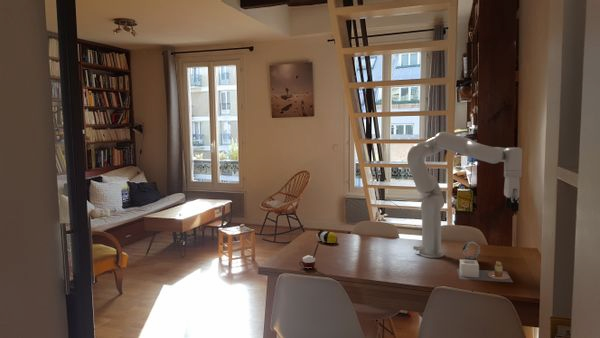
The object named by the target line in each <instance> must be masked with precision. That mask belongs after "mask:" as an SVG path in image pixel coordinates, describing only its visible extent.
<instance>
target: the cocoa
mask: <svg viewBox="0 0 600 338" xmlns="http://www.w3.org/2000/svg"><path fill="white" fill-rule="evenodd" d="M318 247H319V243H317V244H316V247H315V249H314V253H313V255H305V256H303V257H302V261H300V262H299V265H300V266H301V267H302V266H304V267H315V265H316V258H315V256H316V254H317V251H318ZM304 267H303V268H304Z"/></svg>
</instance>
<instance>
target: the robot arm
mask: <svg viewBox="0 0 600 338" xmlns="http://www.w3.org/2000/svg"><path fill="white" fill-rule="evenodd" d="M408 150H409V151H408V152H407V158H406V159H407V165H408V168H409V170H410V175H411V176H412V179H413V182H414V185H415V188H416V191H417V192H418V193H420V194H423V196H424V198H423V199H422V201H421V203H420V210H421V245H419V246H417V245H413V246H412V247H413V250H414V251H418V255H419V256H421V257H424V258H430V259H438V258H439V259H440V258H443V257H444V256H445V253H444V251H442V217H441V215H442V214H441V210H442V209H443V208H444V205H445V199H444V196H443V192H442V190H441V187H440V185H439V182H438V180H437V178H436V177H435V176H434V175H432V174H430V173H429V170H428V168H427V164H426V163H425V158H429V157H431V156H434V155H436V154H437V153H440V152H442V151H444V150H446V151H448V152H453V153H456V154H460V155H462V156H465V157H470V158H472V159H476V160H478V161H482V162H486V163H489V164H498V163H500V162H502V163H503V177H504V186H503V195H504V196H505V208H510V211H511V212H519V198H520V191H521V190H520V182H521V181H520V178H521V177H522V176H523V175H522V171H523V170H522V168H523V166H522V165H523V149H522V148H521V147H500V146H490V145H486V144H482V143H479V142H476V141H474V140H473V139H470V138H468V137H464V136H460V135H457V134H453V133H451V132H449V131H440V132H438V133H437V134H435V136H433V137H431V138H429V139H427V140H425V141H420V142H417V143H415V144H413V145H412V146H411V148H410V149H408Z"/></svg>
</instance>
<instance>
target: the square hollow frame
mask: <svg viewBox="0 0 600 338" xmlns="http://www.w3.org/2000/svg"><path fill="white" fill-rule="evenodd" d="M459 269H460V274H461V276H463V277H479V270H480V265H479V262H478V259H477V260H465V259H462V258H461V259H459Z"/></svg>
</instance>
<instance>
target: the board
mask: <svg viewBox="0 0 600 338" xmlns="http://www.w3.org/2000/svg"><path fill="white" fill-rule="evenodd" d="M456 271H457V275H458V277H459V280H471V281H487V282H502V283H514V281H513V280H512V278H511V277H510V278H509V279H505V280H500V279H494V278H490V277H488V276H487V274H488V273H491V272H495V270H486V269H482V270H481V269H479V277H463V276H461V274H460V268H456ZM502 273H504V274H507V275H509V273H508V271H504V270H502Z"/></svg>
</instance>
